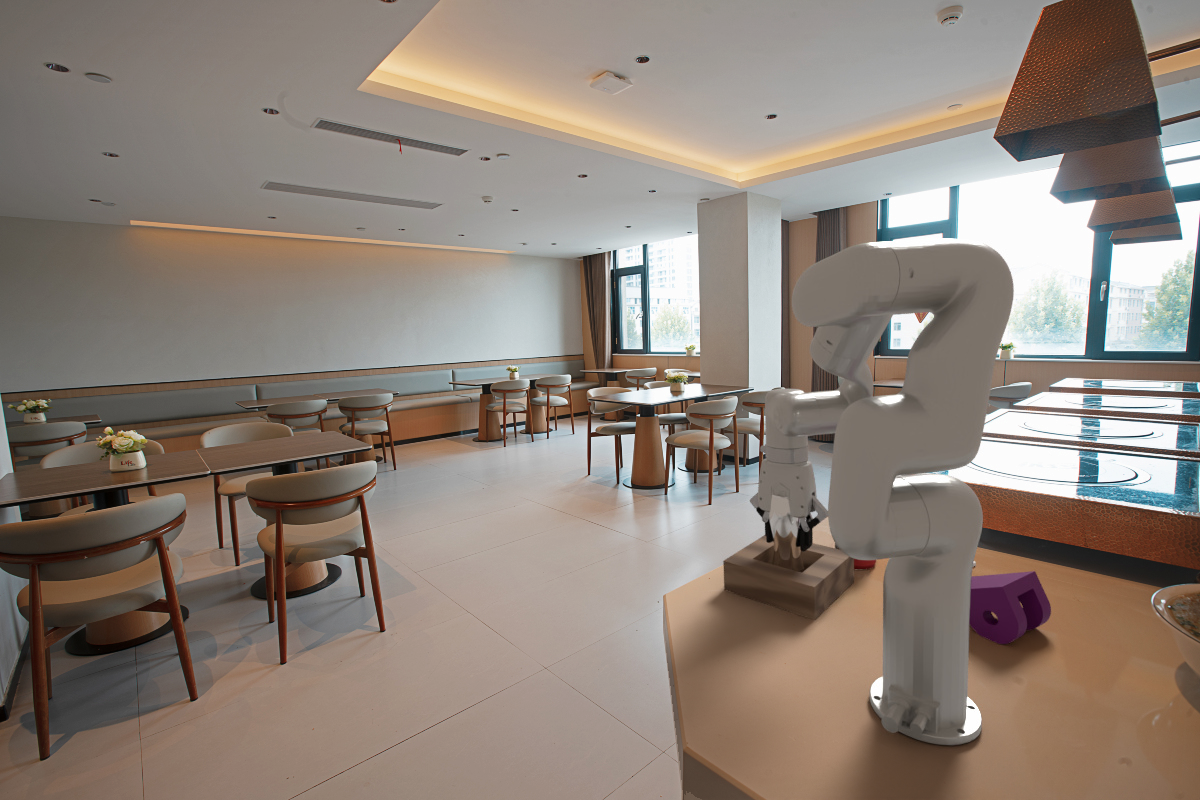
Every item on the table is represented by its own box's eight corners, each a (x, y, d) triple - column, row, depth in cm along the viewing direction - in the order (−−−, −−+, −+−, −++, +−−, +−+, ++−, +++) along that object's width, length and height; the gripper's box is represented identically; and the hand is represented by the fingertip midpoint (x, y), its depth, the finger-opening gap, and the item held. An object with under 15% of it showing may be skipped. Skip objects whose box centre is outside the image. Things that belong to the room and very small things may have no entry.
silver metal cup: (763, 568, 107) (761, 493, 105) (779, 556, 112) (777, 484, 110) (798, 577, 102) (796, 499, 101) (813, 564, 107) (812, 489, 106)
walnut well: (814, 619, 95) (814, 587, 94) (724, 589, 108) (723, 560, 107) (853, 581, 108) (853, 552, 107) (768, 559, 120) (768, 532, 120)
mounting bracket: (921, 642, 97) (1027, 644, 82) (901, 593, 99) (1002, 586, 84) (953, 626, 101) (1060, 625, 86) (934, 579, 103) (1035, 571, 88)
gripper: (736, 452, 108) (738, 540, 110) (824, 464, 96) (824, 562, 98) (755, 445, 113) (757, 529, 115) (841, 455, 101) (841, 549, 103)
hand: (788, 543), depth 107 cm, fingers closed on silver metal cup, 6 cm apart
